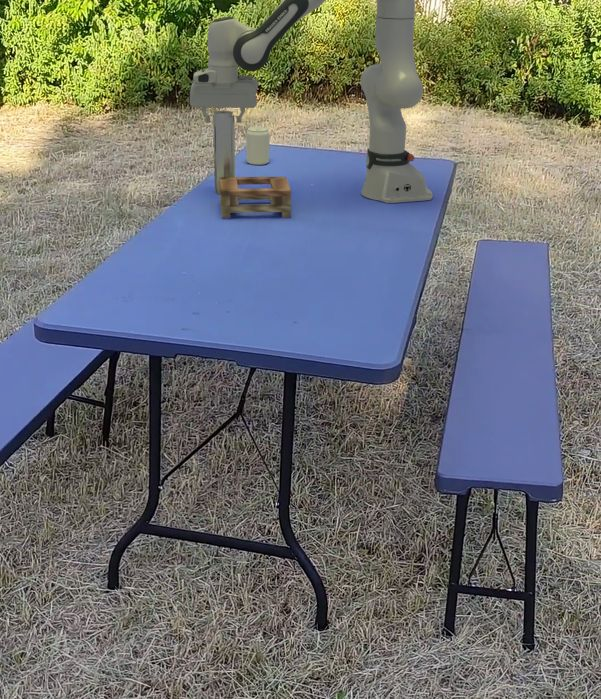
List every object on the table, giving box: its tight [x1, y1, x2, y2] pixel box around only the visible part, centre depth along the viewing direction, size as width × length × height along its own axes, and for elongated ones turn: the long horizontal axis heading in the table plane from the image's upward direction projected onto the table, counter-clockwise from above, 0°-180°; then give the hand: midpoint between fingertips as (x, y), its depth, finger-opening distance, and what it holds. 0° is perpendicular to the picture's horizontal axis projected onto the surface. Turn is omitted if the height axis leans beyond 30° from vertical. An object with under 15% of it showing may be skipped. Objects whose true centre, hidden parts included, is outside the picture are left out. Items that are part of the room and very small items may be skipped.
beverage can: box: [245, 126, 270, 166], centre depth 301 cm, size 8×8×12 cm
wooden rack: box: [219, 176, 292, 219], centre depth 252 cm, size 20×15×8 cm
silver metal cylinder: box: [212, 110, 236, 195], centre depth 264 cm, size 6×6×25 cm
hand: (223, 122), depth 260 cm, fingers open, 8 cm apart
